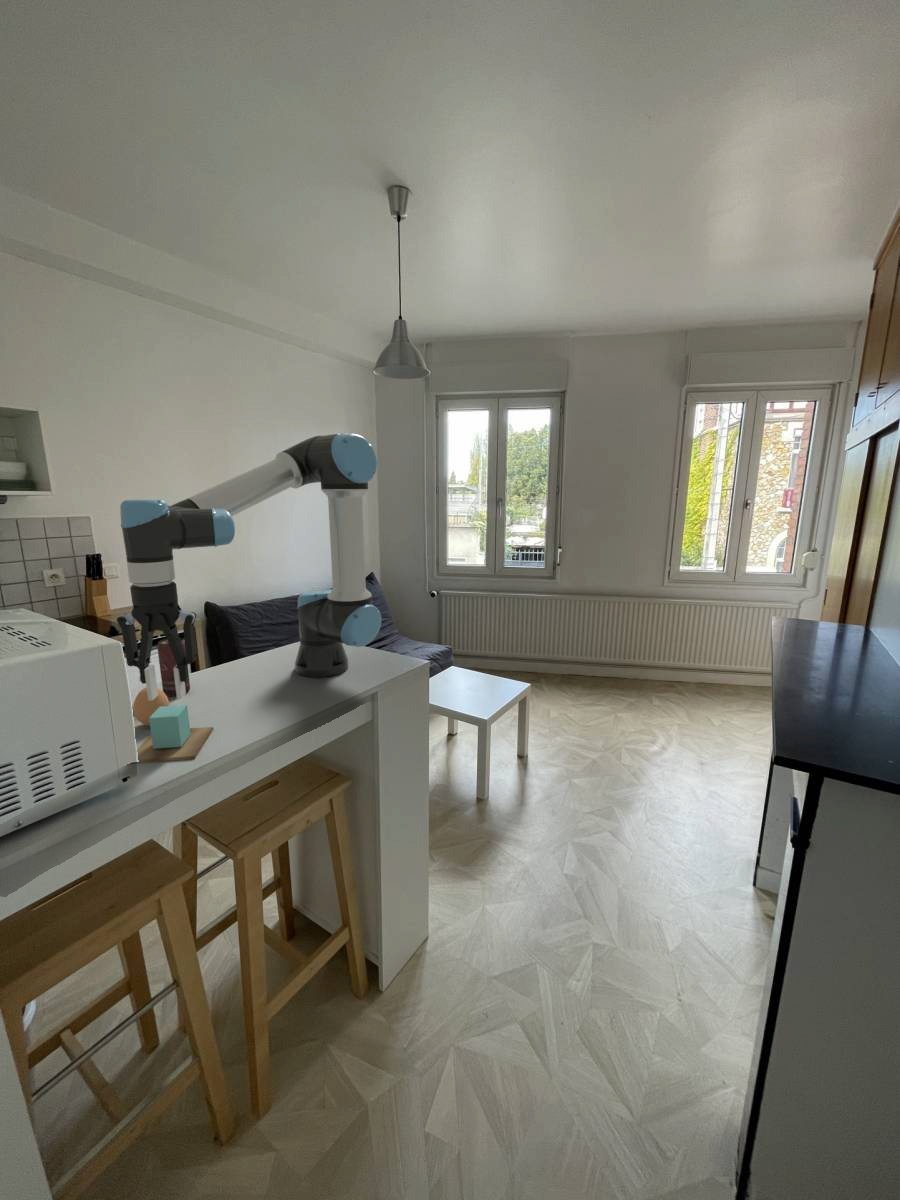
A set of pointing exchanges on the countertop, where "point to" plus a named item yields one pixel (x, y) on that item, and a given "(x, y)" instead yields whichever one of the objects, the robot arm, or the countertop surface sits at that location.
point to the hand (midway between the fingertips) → (167, 696)
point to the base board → (175, 753)
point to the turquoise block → (169, 726)
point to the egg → (148, 705)
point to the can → (169, 668)
